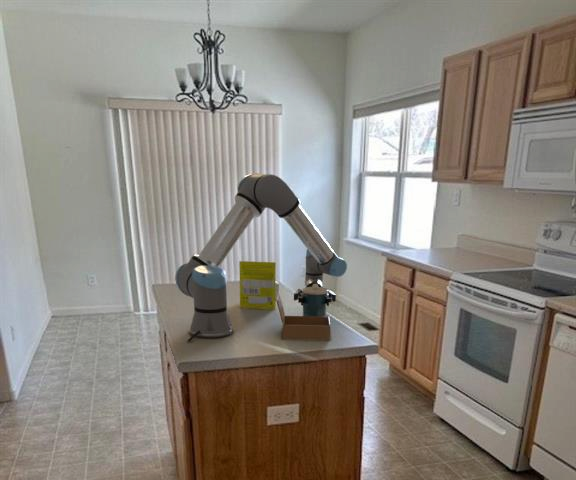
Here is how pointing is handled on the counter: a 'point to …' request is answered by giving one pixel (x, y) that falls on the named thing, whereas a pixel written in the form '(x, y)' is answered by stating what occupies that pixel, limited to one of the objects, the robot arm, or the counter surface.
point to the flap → (280, 307)
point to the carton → (306, 327)
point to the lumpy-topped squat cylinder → (276, 289)
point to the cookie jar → (314, 301)
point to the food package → (257, 284)
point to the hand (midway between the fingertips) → (315, 302)
